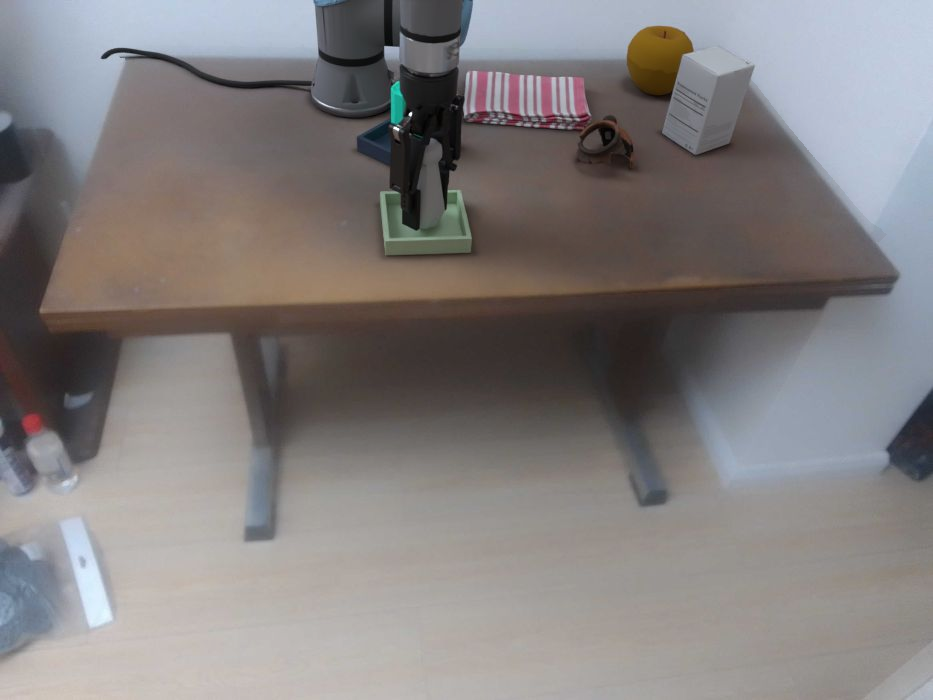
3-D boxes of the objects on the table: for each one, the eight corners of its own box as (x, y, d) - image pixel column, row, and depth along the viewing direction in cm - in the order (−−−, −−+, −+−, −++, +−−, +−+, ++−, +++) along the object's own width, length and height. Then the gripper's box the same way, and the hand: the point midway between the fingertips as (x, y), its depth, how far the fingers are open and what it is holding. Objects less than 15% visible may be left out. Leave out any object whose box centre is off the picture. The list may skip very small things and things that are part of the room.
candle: (431, 142, 131) (434, 75, 123) (418, 158, 127) (420, 90, 119) (399, 134, 132) (399, 67, 124) (385, 150, 128) (384, 82, 120)
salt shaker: (404, 209, 115) (405, 131, 106) (442, 209, 116) (446, 131, 107) (405, 232, 111) (406, 153, 102) (445, 232, 112) (449, 153, 103)
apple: (610, 90, 151) (622, 32, 143) (635, 67, 159) (648, 11, 151) (671, 110, 146) (687, 51, 138) (694, 85, 154) (710, 29, 146)
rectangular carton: (695, 122, 144) (718, 43, 133) (730, 144, 138) (757, 64, 128) (659, 133, 140) (681, 52, 129) (694, 156, 135) (719, 75, 124)
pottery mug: (639, 182, 128) (626, 148, 122) (584, 194, 132) (570, 162, 126) (637, 130, 134) (625, 95, 128) (585, 144, 138) (571, 110, 132)
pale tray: (385, 255, 109) (385, 241, 107) (380, 205, 118) (380, 191, 116) (470, 252, 111) (472, 238, 109) (459, 203, 120) (460, 189, 118)
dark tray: (357, 150, 129) (356, 136, 127) (404, 123, 136) (404, 110, 134) (414, 177, 124) (414, 163, 122) (459, 148, 131) (460, 134, 130)
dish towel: (590, 132, 138) (594, 114, 136) (462, 123, 137) (463, 105, 135) (581, 88, 150) (584, 71, 148) (463, 79, 150) (464, 62, 147)
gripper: (405, 100, 90) (403, 256, 106) (495, 50, 101) (481, 199, 117) (357, 79, 92) (363, 235, 109) (450, 33, 104) (443, 181, 120)
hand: (424, 216), depth 113 cm, fingers closed on salt shaker, 6 cm apart
